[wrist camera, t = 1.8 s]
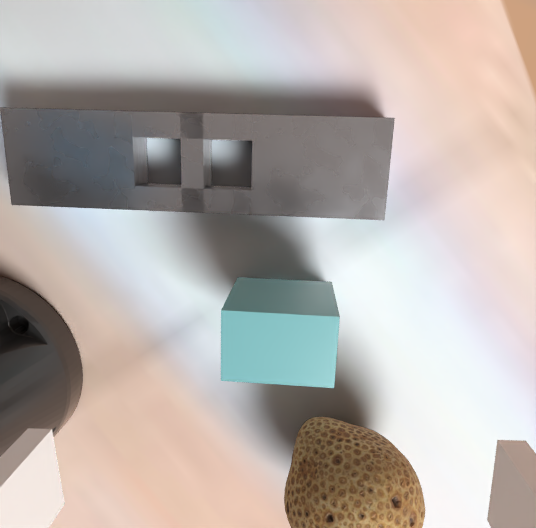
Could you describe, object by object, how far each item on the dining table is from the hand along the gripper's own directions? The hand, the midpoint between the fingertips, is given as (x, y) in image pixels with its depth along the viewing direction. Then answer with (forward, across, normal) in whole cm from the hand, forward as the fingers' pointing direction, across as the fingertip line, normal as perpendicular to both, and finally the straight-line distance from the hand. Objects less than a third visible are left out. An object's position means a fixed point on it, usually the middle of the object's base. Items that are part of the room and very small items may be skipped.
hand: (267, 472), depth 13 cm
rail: (+19, -6, +8) cm, 21 cm away
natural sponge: (+19, +4, -13) cm, 23 cm away
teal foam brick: (+19, 0, -1) cm, 19 cm away
